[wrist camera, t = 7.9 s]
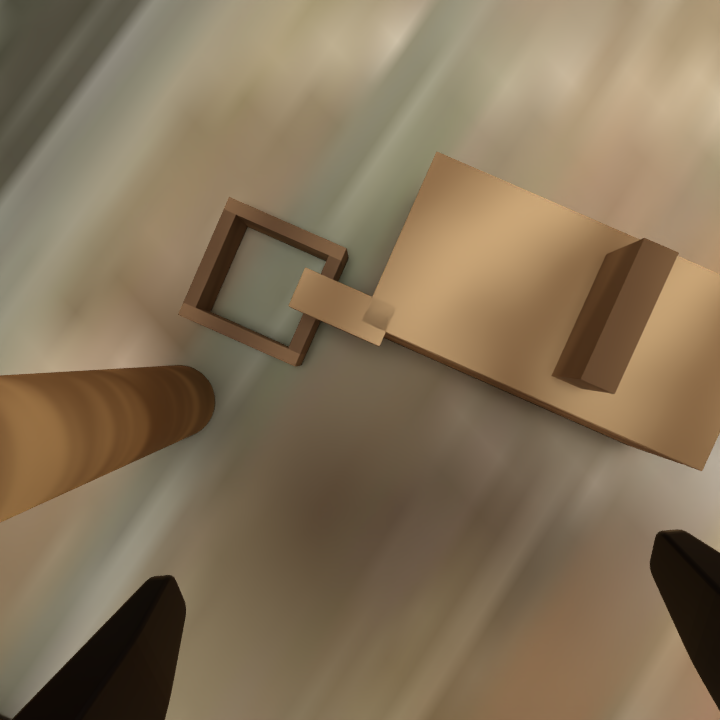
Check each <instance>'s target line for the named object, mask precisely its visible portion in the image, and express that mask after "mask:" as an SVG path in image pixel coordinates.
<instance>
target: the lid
mask: <svg viewBox="0 0 720 720" xmlns="http://www.w3.org/2000/svg"><path fill="white" fill-rule="evenodd" d="M289 307H291V308H293V309H295V310H298V311H300V312H302V313H304V314H307V315H309V316H311V317H313V318H316V319H318V320H320V321H323V322H325V323H327V324H329V325H332V326H334V327H336V328H338V329H341V330H343V331H345V332H347V333H350V334H352V335H354V336H356V337H359V338H361V339H363V340H366V341H368V342H370V343H372V344H375V345H377V346H380V344H381V341H382V339H383V337H384V335H385V333H387V334H389V335H392V336H394V337H396V338H398V339H401V340H403V341H405V342H407V343H410V344H412V345H414V346H417V347H419V348H421V349H423V350H426V351H428V352H430V353H432V354H435V355H437V356H439V357H441V358H444V359H446V360H448V361H451V362H453V363H455V364H457V365H460V366H462V367H464V368H466V369H469V370H471V371H473V372H475V373H478V374H480V375H482V376H485V377H487V378H489V379H491V380H494V381H496V382H498V383H500V384H503V385H505V386H507V387H509V388H512V389H514V390H516V391H519V392H521V393H523V394H525V395H528V396H530V397H532V398H534V399H537V400H539V401H541V402H543V403H546V404H548V405H550V406H553V407H555V408H557V409H559V410H562V411H564V412H566V413H568V414H571V415H573V416H575V417H577V418H580V419H582V420H584V421H587V422H589V423H591V424H593V425H596V426H598V427H600V428H602V429H605V430H607V431H609V432H611V433H614V434H616V435H618V436H621V437H623V438H625V439H627V440H630V441H632V442H634V443H636V444H639V445H641V446H643V447H645V448H648V449H650V450H652V451H655V452H657V453H659V454H661V455H664V456H666V457H668V458H670V459H673V460H675V461H677V462H679V463H682V464H684V465H686V466H689V467H692V468H694V469H697V470H700V471H702V470H703V468H704V466H705V464H706V461H707V459H708V457H709V455H710V453H711V450H712V448H713V446H714V444H715V442H716V440H717V437H718V435H719V433H720V274H718V273H715V272H713V271H711V270H709V269H706V268H704V267H702V266H699V265H697V264H695V263H692V262H690V261H688V260H686V259H683V258H681V257H679V256H678V252H676V251H673V250H671V249H669V248H667V247H664V246H662V245H660V244H657V243H655V242H653V241H650V240H648V239H646V238H643V239H641V240H639V239H637V238H635V237H632V236H630V235H628V234H626V233H623V232H621V231H619V230H616V229H614V228H612V227H609V226H607V225H605V224H603V223H600V222H598V221H596V220H593V219H591V218H589V217H586V216H584V215H582V214H579V213H577V212H575V211H573V210H570V209H568V208H566V207H563V206H561V205H559V204H556V203H554V202H552V201H549V200H547V199H545V198H543V197H540V196H538V195H536V194H533V193H531V192H529V191H526V190H524V189H522V188H520V187H517V186H515V185H513V184H510V183H508V182H506V181H503V180H501V179H499V178H496V177H494V176H492V175H490V174H487V173H485V172H483V171H480V170H478V169H476V168H473V167H471V166H469V165H466V164H464V163H462V162H460V161H457V160H455V159H453V158H450V157H448V156H446V155H443V154H441V153H439V152H436V154H435V156H434V159H433V161H432V163H431V165H430V168H429V170H428V172H427V175H426V177H425V179H424V181H423V184H422V186H421V188H420V190H419V193H418V195H417V197H416V199H415V202H414V204H413V206H412V209H411V211H410V213H409V215H408V218H407V220H406V222H405V224H404V227H403V229H402V231H401V233H400V236H399V238H398V240H397V242H396V245H395V247H394V249H393V252H392V254H391V256H390V258H389V261H388V263H387V265H386V267H385V270H384V272H383V274H382V276H381V279H380V281H379V283H378V286H377V288H376V290H375V292H374V295H373V297H371V296H369V295H367V294H364V293H362V292H360V291H358V290H355V289H353V288H351V287H349V286H346V285H344V284H342V283H339V282H337V281H335V280H333V279H330V278H328V277H326V276H324V275H321V274H319V273H317V272H314V271H312V270H310V269H308V268H305V269H304V272H303V274H302V276H301V278H300V281H299V283H298V285H297V288H296V290H295V292H294V294H293V297H292V299H291V301H290V303H289Z"/></svg>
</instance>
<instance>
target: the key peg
mask: <svg viewBox="0 0 720 720" xmlns="http://www.w3.org/2000/svg"><path fill="white" fill-rule="evenodd" d="M214 407H215V397H214V392H213V389H212V386H211V384H210V383H209V381H208V380H207V378H206V377H205V376H204V375H203V374H202V373H200V372H199V371H197V370H196V369H194V368H191V367H188V366H182V365H174V366H157V367H140V368H123V369H105V370H88V371H71V372H54V373H37V374H19V375H2V376H0V522H2V521H4V520H7V519H9V518H11V517H13V516H15V515H18V514H20V513H22V512H24V511H26V510H29V509H31V508H33V507H35V506H37V505H40V504H42V503H44V502H46V501H48V500H51V499H53V498H55V497H57V496H59V495H62V494H64V493H66V492H68V491H70V490H73V489H75V488H77V487H79V486H81V485H84V484H86V483H88V482H90V481H92V480H95V479H97V478H99V477H101V476H103V475H106V474H108V473H110V472H112V471H114V470H117V469H119V468H121V467H123V466H125V465H128V464H130V463H132V462H134V461H136V460H139V459H141V458H143V457H145V456H147V455H149V454H152V453H154V452H156V451H158V450H160V449H163V448H165V447H167V446H169V445H171V444H174V443H176V442H178V441H180V440H182V439H185V438H187V437H189V436H191V435H193V434H196V433H197V432H199V431H200V430H202V429H203V428H204V427H205V426H206V425H207V423H208V422H209V421H210V419H211V417H212V414H213V412H214Z"/></svg>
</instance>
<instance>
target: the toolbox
mask: <svg viewBox="0 0 720 720" xmlns="http://www.w3.org/2000/svg"><path fill="white" fill-rule="evenodd" d="M247 227H250V228H252V229H254V230H257V231H259V232H261V233H263V234H266V235H268V236H270V237H273V238H275V239H277V240H279V241H282V242H284V243H286V244H288V245H291V246H293V247H295V248H298V249H300V250H302V251H304V252H307V253H309V254H311V255H313V256H316V257H318V258H320V259H323V260H325V261H326V263H325V266H324V268H323V270H322V272H321V275H324V276H326V277H328V278H330V279H333V280H335V281H337V282H338V280H339V278H340V276H341V274H342V271H343V269H344V267H345V265H346V262H347V260H348V258H349V257H348V253H347V248H344V247H342V246H340V245H338V244H335V243H333V242H331V241H328V240H326V239H324V238H322V237H319V236H317V235H315V234H312V233H310V232H308V231H306V230H303V229H301V228H299V227H296V226H294V225H292V224H290V223H287V222H285V221H283V220H281V219H278V218H276V217H274V216H271V215H269V214H267V213H265V212H262V211H260V210H258V209H255V208H253V207H251V206H249V205H246V204H244V203H242V202H239V201H237V200H235V199H233V198H230V197H229V199H228V201H227V203H226V206H225V208H224V210H223V212H222V215H221V217H220V219H219V222H218V224H217V226H216V229H215V231H214V233H213V236H212V238H211V240H210V242H209V245H208V247H207V249H206V252H205V254H204V256H203V259H202V261H201V263H200V266H199V268H198V270H197V272H196V275H195V277H194V279H193V282H192V284H191V286H190V289H189V291H188V293H187V295H186V298H185V300H184V302H183V305H182V307H181V309H180V312H179V314H178V315H180V316H183V317H185V318H187V319H189V320H192V321H194V322H196V323H198V324H201V325H203V326H205V327H207V328H210V329H212V330H214V331H216V332H219V333H221V334H223V335H225V336H228V337H230V338H232V339H234V340H237V341H239V342H241V343H243V344H246V345H248V346H250V347H252V348H255V349H257V350H259V351H261V352H264V353H266V354H268V355H270V356H273V357H275V358H277V359H279V360H282V361H284V362H286V363H288V364H291V365H293V366H300V365H302V362H303V360H304V358H305V355H306V353H307V351H308V349H309V346H310V344H311V342H312V340H313V337H314V335H315V333H316V330H317V328H318V326H319V324H320V320H318V319H316V318H313V317H311V316H309V315H307V314H304V313H303V316H302V318H301V320H300V322H299V325H298V327H297V329H296V332H295V334H294V336H293V338H292V341H291V343H290V345H289V346H286V345H284V344H282V343H280V342H277V341H275V340H273V339H271V338H268V337H266V336H264V335H262V334H259V333H257V332H255V331H252V330H250V329H248V328H246V327H243V326H241V325H239V324H237V323H234V322H232V321H230V320H228V319H225V318H223V317H221V316H219V315H216V314H214V313H212V312H210V311H211V309H212V307H213V305H214V302H215V300H216V298H217V295H218V293H219V291H220V288H221V286H222V284H223V282H224V279H225V277H226V275H227V272H228V270H229V268H230V265H231V263H232V261H233V259H234V256H235V254H236V252H237V249H238V247H239V245H240V242H241V240H242V238H243V236H244V233H245V231H246V229H247ZM384 338H386V339H388V340H390V341H393V342H395V343H397V344H399V345H402V346H404V347H406V348H408V349H411V350H413V351H415V352H418V353H420V354H422V355H424V356H427V357H429V358H431V359H433V360H436V361H438V362H440V363H442V364H445V365H447V366H449V367H452V368H454V369H456V370H458V371H461V372H463V373H465V374H467V375H470V376H472V377H474V378H476V379H479V380H481V381H483V382H486V383H488V384H490V385H492V386H495V387H497V388H499V389H501V390H504V391H506V392H508V393H510V394H513V395H515V396H517V397H519V398H522V399H524V400H526V401H529V402H531V403H533V404H535V405H538V406H540V407H542V408H544V409H547V410H549V411H551V412H553V413H556V414H558V415H560V416H563V417H565V418H567V419H569V420H572V421H574V422H576V423H578V424H581V425H583V426H585V427H587V428H590V429H592V430H594V431H597V432H599V433H601V434H603V435H606V436H608V437H610V438H612V439H615V440H617V441H619V442H621V443H624V444H626V445H629V446H632V447H634V448H637V449H640V450H643V451H646V452H649V453H652V454H654V455H657V456H660V457H663V458H666V459H669V460H672V461H674V462H677V461H675V460H673V459H670V458H668V457H666V456H664V455H661V454H659V453H657V452H655V451H652V450H650V449H648V448H645V447H643V446H641V445H639V444H636V443H634V442H632V441H630V440H627V439H625V438H623V437H621V436H618V435H616V434H614V433H611V432H609V431H607V430H605V429H602V428H600V427H598V426H596V425H593V424H591V423H589V422H587V421H584V420H582V419H580V418H577V417H575V416H573V415H571V414H568V413H566V412H564V411H562V410H559V409H557V408H555V407H553V406H550V405H548V404H546V403H543V402H541V401H539V400H537V399H534V398H532V397H530V396H528V395H525V394H523V393H521V392H519V391H516V390H514V389H512V388H509V387H507V386H505V385H503V384H500V383H498V382H496V381H494V380H491V379H489V378H487V377H485V376H482V375H480V374H478V373H475V372H473V371H471V370H469V369H466V368H464V367H462V366H460V365H457V364H455V363H453V362H451V361H448V360H446V359H444V358H441V357H439V356H437V355H435V354H432V353H430V352H428V351H426V350H423V349H421V348H419V347H417V346H414V345H412V344H410V343H407V342H405V341H403V340H401V339H398V338H396V337H394V336H392V335H389V334H387V333H385V335H384ZM677 463H679V462H677ZM680 464H682V463H680Z"/></svg>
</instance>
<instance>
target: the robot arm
mask: <svg viewBox="0 0 720 720" xmlns="http://www.w3.org/2000/svg"><path fill="white" fill-rule="evenodd" d="M650 570H651V573H652V576H653V578H654V581H655V583H656V585H657V587H658V589H659V592H660V594H661V596H662V598H663V600H664V602H665V605H666V607H667V609H668V611H669V613H670V616H671V618H672V620H673V622H674V624H675V627H676V629H677V631H678V633H679V635H680V637H681V640H682V642H683V644H684V646H685V648H686V650H687V652H688V655H689V657H690V659H691V661H692V663H693V665H694V666H695V668H696V670H697V672H698V674H699V676H700V677H701V679H702V681H703V683H704V684H705V686H706V688H707V690H708V691H709V693H710V695H711V697H712V698H713V700H714V702H715V703H716V705H717V707H718V709H719V710H720V552H718V551H716V550H715V549H713V548H712V547H710V546H708V545H707V544H705V543H704V542H702V541H700V540H699V539H697V538H696V537H694V536H693V535H691V534H689V533H688V532H686V531H683V530H666V531H660V532H658V533H657V534H656V537H655V541H654V545H653V550H652V554H651V559H650ZM185 617H186V605H185V601H184V599H183V596H182V594H181V591H180V589H179V587H178V584H177V582H176V580H175V578H174V577H173V576H171V575H164V576H154V577H151V578H149V579H148V580H147V581H146V582H145V583H144V584H143V585H142V586H141V587H140V588H139V589H138V590H137V591H136V592H135V593H134V594H133V595H132V596H131V597H130V598H129V599H128V600H127V601H126V602H125V603H124V604H123V605H122V606H121V607H120V609H119V610H118V611H117V612H116V613H115V614H114V615H113V616H112V617H111V618H110V619H109V620H108V621H107V622H106V623H105V624H104V625H103V626H102V627H101V628H100V629H99V630H98V631H97V632H96V633H95V634H94V635H93V636H92V637H91V638H90V639H89V640H88V641H87V643H86V644H85V645H84V646H83V647H82V648H81V649H80V650H79V651H78V652H77V653H76V654H75V655H74V656H73V657H72V658H71V659H70V660H69V661H68V662H67V663H66V664H65V665H64V666H63V667H62V668H61V669H60V670H59V671H58V672H57V673H56V674H55V675H54V677H53V678H52V679H51V680H50V681H49V682H48V683H47V684H46V685H45V686H44V687H43V688H42V689H41V690H40V691H39V692H38V693H37V694H36V695H35V696H34V697H33V698H32V699H31V700H30V701H29V702H28V703H27V704H26V705H25V706H24V707H23V708H22V709H21V711H20V712H19V713H18V714H17V715H16V716H15V717H14V718H13V719H12V720H165V717H166V713H167V709H168V705H169V701H170V696H171V691H172V686H173V681H174V676H175V670H176V665H177V660H178V654H179V649H180V643H181V638H182V633H183V627H184V622H185Z"/></svg>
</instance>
